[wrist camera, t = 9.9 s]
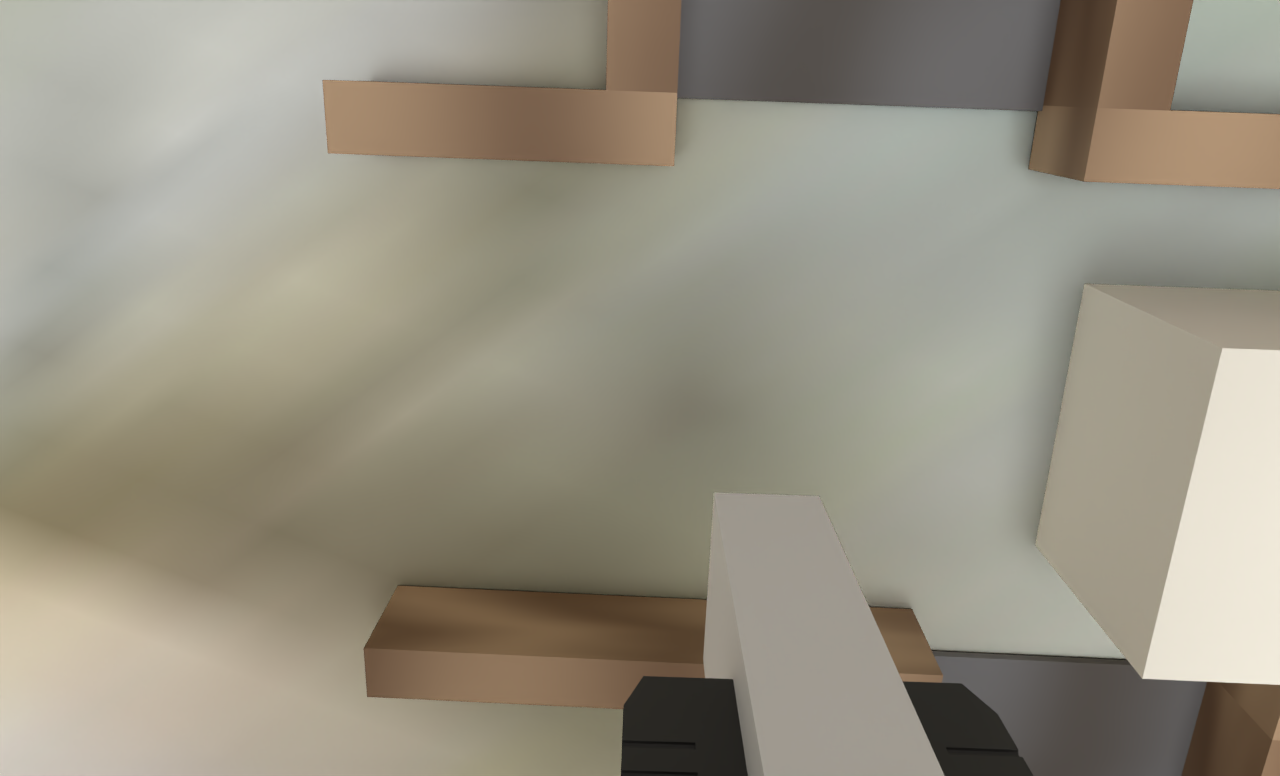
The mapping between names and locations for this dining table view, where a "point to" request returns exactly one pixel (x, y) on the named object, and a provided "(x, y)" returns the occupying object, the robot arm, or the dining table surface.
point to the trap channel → (840, 74)
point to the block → (1173, 479)
